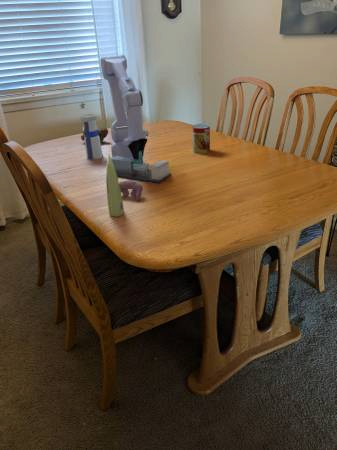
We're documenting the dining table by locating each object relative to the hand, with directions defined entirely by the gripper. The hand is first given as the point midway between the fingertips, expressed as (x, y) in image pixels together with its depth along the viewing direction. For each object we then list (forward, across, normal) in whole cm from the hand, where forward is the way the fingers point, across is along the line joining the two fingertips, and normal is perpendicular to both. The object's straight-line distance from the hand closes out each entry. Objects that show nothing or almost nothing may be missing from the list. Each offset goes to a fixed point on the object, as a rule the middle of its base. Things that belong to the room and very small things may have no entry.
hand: (138, 158), depth 151 cm
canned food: (+8, +38, -9) cm, 40 cm away
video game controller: (+8, -20, -9) cm, 23 cm away
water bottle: (+8, +12, +34) cm, 37 cm away
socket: (+7, 0, -10) cm, 12 cm away
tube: (+8, -32, -12) cm, 35 cm away
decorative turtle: (+8, +31, +50) cm, 59 cm away
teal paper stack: (+5, 0, +4) cm, 6 cm away
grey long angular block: (+7, 0, +1) cm, 7 cm away
